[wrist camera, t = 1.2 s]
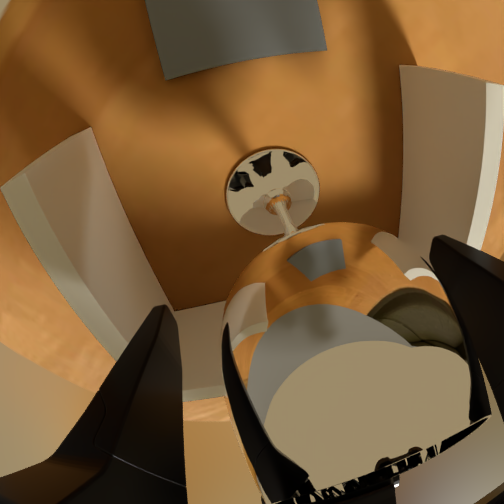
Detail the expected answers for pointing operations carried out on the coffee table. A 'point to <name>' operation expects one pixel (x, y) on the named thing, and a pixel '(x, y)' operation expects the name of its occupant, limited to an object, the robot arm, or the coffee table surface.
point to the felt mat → (231, 31)
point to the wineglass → (337, 346)
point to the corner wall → (209, 316)
